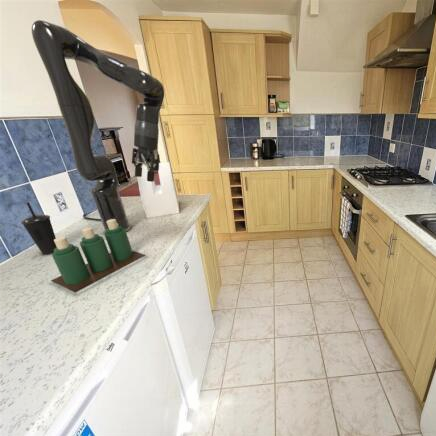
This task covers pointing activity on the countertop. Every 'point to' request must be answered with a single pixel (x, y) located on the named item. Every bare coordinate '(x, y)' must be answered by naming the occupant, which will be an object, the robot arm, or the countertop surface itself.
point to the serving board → (98, 273)
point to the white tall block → (158, 193)
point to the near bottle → (69, 262)
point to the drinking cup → (40, 231)
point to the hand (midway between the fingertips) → (144, 178)
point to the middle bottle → (95, 251)
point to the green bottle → (118, 241)
